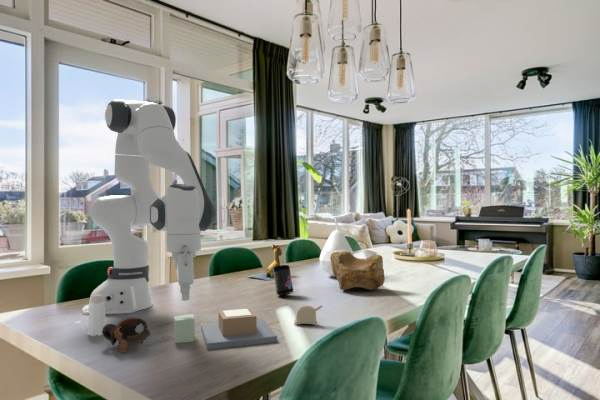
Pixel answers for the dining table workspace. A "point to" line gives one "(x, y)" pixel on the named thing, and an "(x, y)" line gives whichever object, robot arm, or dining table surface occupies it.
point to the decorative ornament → (306, 315)
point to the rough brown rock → (357, 271)
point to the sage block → (184, 328)
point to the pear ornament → (334, 248)
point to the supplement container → (283, 280)
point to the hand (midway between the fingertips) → (184, 296)
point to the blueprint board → (236, 339)
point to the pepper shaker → (96, 316)
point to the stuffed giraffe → (269, 270)
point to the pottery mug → (126, 333)
